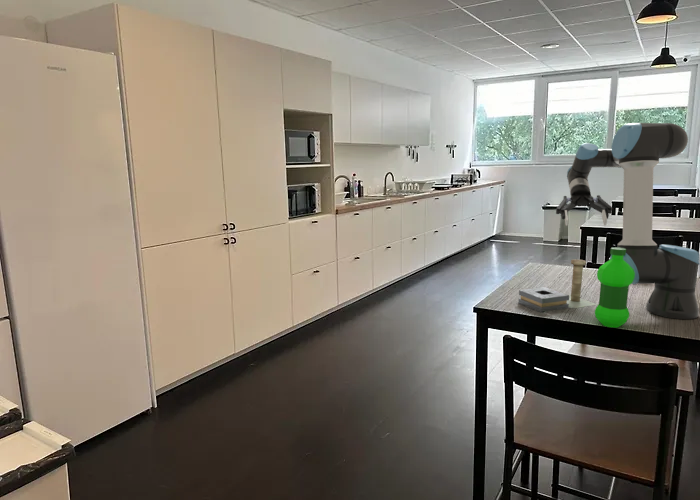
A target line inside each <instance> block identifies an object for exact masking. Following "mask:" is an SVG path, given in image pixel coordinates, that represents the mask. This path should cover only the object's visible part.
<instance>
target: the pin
mask: <svg viewBox="0 0 700 500" xmlns="http://www.w3.org/2000/svg"><path fill="white" fill-rule="evenodd" d="M570 264H571V265H573V267H572V279H571V288H570V289H571V290H570V295H571V301H574V302H579V301H580V298H581V292H582V282H583V281H582V279H583V272H584V271H583V270H584V266H586V265H587V260H583V259H570Z"/></svg>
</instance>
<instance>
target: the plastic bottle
mask: <svg viewBox="0 0 700 500" xmlns="http://www.w3.org/2000/svg"><path fill="white" fill-rule="evenodd" d="M609 254H610V255H611V254H612V259H610V258H609V259H608V260H607V261H606V262H604V263H603V264H602V265H600V266H599V268H598V270H597V272H596V276H597V277H596V278H597V280H598V281H599V282H600V289H599V299H598V305H596V308H595V309H594V316H595V318H596V319H597V321H598V322H599V323H600V324H601V325H602V326H603V327H607V328H616V329H617V328H619V327H621V326H623V325H625V324H626V323H627V322H628V319H629V318H630V312H629V311H630V310H629V308H628V299H629V298H628V296H629V289H630V286H631V285H633V284H632V282H633V280H634V278H635V272H634V269H633V268H632V267H631V266H630V265H629V264H628V263H626V262H625V261H624V260H623V256H624V255H626V249H625V248H618V247H616V246H615V247H611V248H610V251H609Z"/></svg>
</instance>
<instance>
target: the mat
mask: <svg viewBox="0 0 700 500" xmlns="http://www.w3.org/2000/svg"><path fill="white" fill-rule="evenodd" d="M568 295H569V300H567V303H568V304H569V307H568V308H571V309H577V308H584V307H591V306H598V305H599V303H596V302H592V301H589V300H586V299H583V298H581V297H580V301H579V302H574V301H571V294H568Z"/></svg>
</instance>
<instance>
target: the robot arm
mask: <svg viewBox="0 0 700 500" xmlns="http://www.w3.org/2000/svg"><path fill="white" fill-rule="evenodd" d="M688 138H689V137H688V134H687V132H686V130H685V129H684V128H683V127H682V126H680V125H678V124H677V123H671V122H632V123H625V124H623V125H621V126H620V127H619V128H618V130H617V131H616V132H615V134H614V136H613V139H612V143H611V148H606V149H605V148H599V147H598V146H597V144H595V143H590V142H585V143H582V144H580V145H579V147H578V149H577V151H576V154H575V157H574V160H573V162H572V165H571V166H570V167H568V169H567V172H566V177H567V178H566V179H567V183H568V187H569V192H570V197H567V196H566V195H564V196H563V198H562V200H561V202H560V203H559V204H558V206H557V207H556V211H555V214H556V215H560V217H561V219H562V220H564V225H565V226H566V227H568V226H569V216H568V215H569V214H568V212H570V211H571V210H572V209H575V208H576V207H587V208H590V209H591V208H592V209H593V210H595V211H597V212H599V213H601V219H602V223H603V226H607V224H608V223H607V222H608V219H609V214H612V212H613V207H612V205H610V204H609V203H608V202H606V201H605V200H604V199H603V198H602V197H601V195H599V194H598V195H596V196H595V197H593V196H592V193H591V192H592V191H591V189H590V184H589V179H588V178H589V175H590V172H591V170H592V169H593V168H619V169H620V168H621V169H622V170H623V198H622V199H623V202H622V204H623V205H622V207H623V208H622V209H623V210H622V239H621V240H620V241H619V242H618V243H617V248H625V249H626V255H624V256H623V260H624V261H625V262H626V263H628V264H629V265H630V266H631V267H632V268H633V269H634V272H635V278H634V280H633V282H632V284H631V285H637V284H644V285H645V284H649V285H650V284H654V286H653V287H654V288H653V291H652V292H651V295H650V296H649V298H648V301H647V302H646V305H645V306H646V307H645V310H646V311H648V312H649V313H651V314H653V315H657V316H658V317H659V316H660V317H664V318H670V319H677V320H692V319H697V318H699V312H700V309H699V306H698V301H697V297H696V287H697V281H698V280H697V279H698V274H699V273H698V272H699V266H700V253H699V251H697V250H695V249H692V248H688V247H684V246H678V245H672V244H659V247H658V244H657V243H656V242H655V241H654V240H653V208H654V207H653V205H654V201H653V200H654V199H653V198H654V168H655V167H656V166H657V165H658V164H659V162H660V159H670V158H673V157H676V156H678V155H680V154H681V153H682V152H683V151H684V150H685V149H686V148H687V145H688V143H689V141H688V140H689V139H688ZM610 259H612V254H610V257H609V260H610Z"/></svg>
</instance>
